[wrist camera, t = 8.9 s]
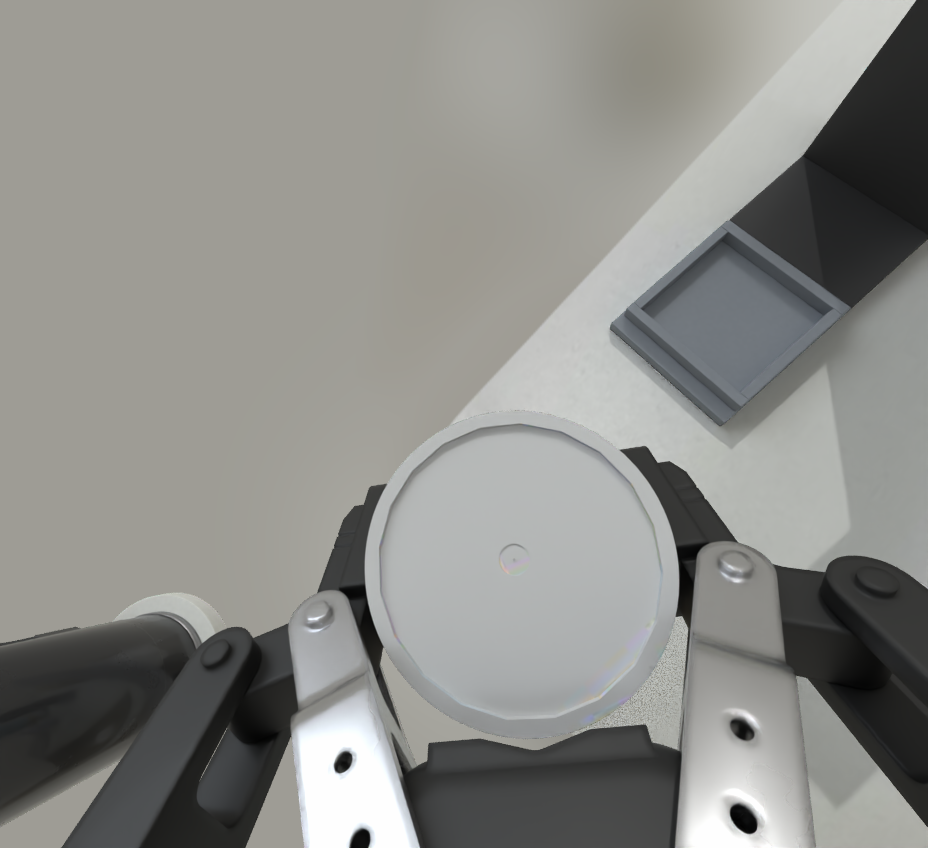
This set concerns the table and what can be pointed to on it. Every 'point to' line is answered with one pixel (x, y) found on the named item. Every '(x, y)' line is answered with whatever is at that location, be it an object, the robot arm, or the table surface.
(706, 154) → the table surface
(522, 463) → the bottle
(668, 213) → the table surface
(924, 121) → the coffee maker
